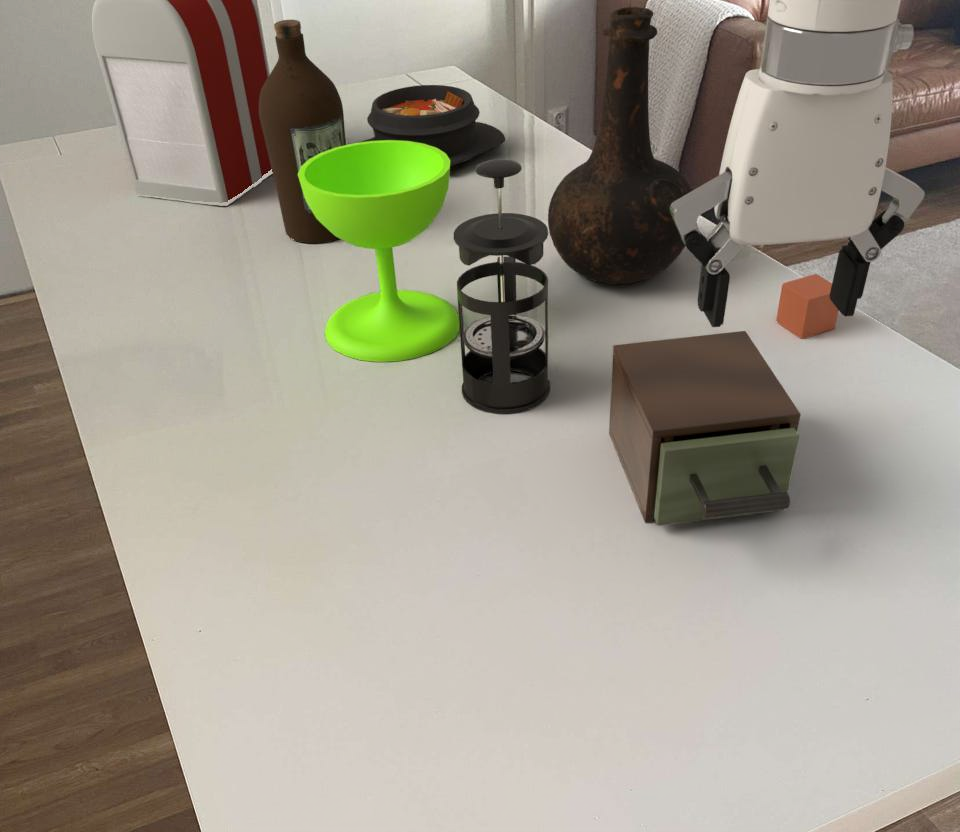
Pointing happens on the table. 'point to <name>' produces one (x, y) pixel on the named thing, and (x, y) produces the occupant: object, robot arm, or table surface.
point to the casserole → (433, 121)
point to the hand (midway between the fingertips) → (776, 313)
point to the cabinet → (687, 399)
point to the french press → (503, 305)
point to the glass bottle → (620, 175)
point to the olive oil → (298, 127)
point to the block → (807, 306)
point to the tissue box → (185, 93)
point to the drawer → (724, 474)
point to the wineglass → (382, 242)
